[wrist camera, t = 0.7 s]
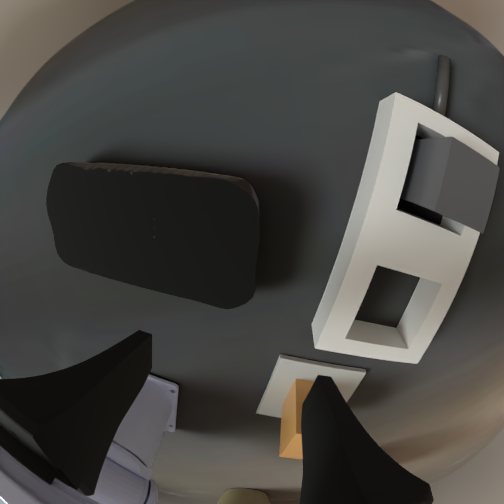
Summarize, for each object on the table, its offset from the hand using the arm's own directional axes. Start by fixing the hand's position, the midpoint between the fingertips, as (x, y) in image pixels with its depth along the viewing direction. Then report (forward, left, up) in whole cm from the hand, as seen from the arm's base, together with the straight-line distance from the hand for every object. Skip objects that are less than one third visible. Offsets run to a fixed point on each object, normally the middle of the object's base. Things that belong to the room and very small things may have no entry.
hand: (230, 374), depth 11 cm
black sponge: (+2, +8, -10) cm, 13 cm away
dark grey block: (+11, -10, -10) cm, 17 cm away
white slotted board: (+9, -10, -10) cm, 16 cm away
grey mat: (-10, -8, -10) cm, 16 cm away
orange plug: (-10, -8, -9) cm, 16 cm away
